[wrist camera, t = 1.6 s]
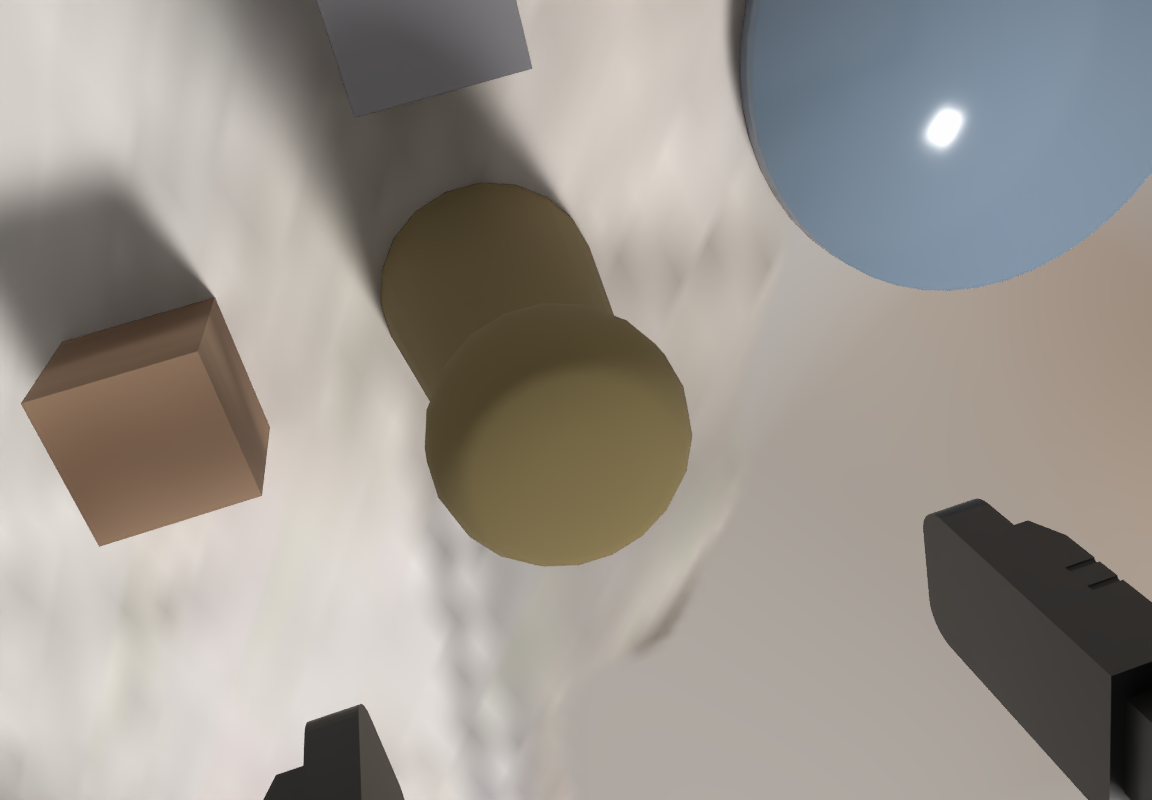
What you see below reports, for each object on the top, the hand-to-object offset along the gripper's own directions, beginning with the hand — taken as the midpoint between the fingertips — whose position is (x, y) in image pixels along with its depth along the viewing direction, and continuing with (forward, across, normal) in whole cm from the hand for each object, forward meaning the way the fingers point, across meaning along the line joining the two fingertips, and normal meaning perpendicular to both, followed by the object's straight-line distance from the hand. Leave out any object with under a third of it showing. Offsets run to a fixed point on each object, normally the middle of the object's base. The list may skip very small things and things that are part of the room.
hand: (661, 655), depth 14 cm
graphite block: (+16, 0, -8) cm, 18 cm away
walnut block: (+16, +9, 0) cm, 18 cm away
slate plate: (+16, -15, -3) cm, 22 cm away
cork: (+16, 0, 0) cm, 16 cm away
